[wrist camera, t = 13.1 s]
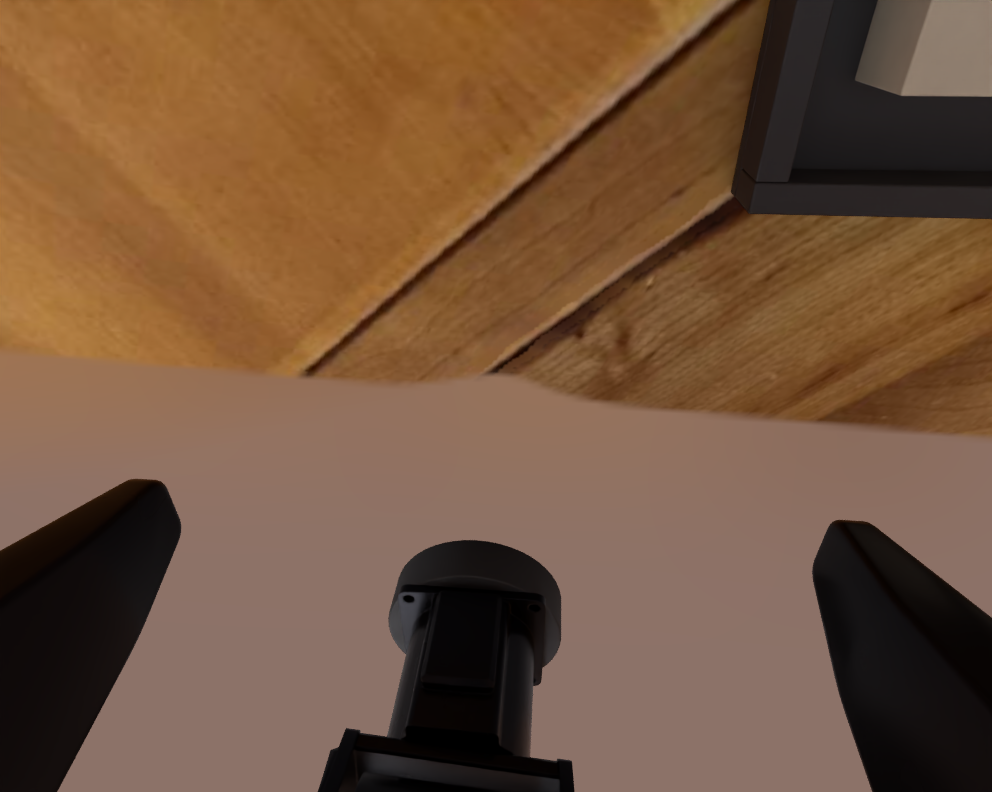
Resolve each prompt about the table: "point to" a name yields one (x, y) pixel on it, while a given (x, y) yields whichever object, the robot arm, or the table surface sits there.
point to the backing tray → (853, 129)
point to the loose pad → (929, 48)
